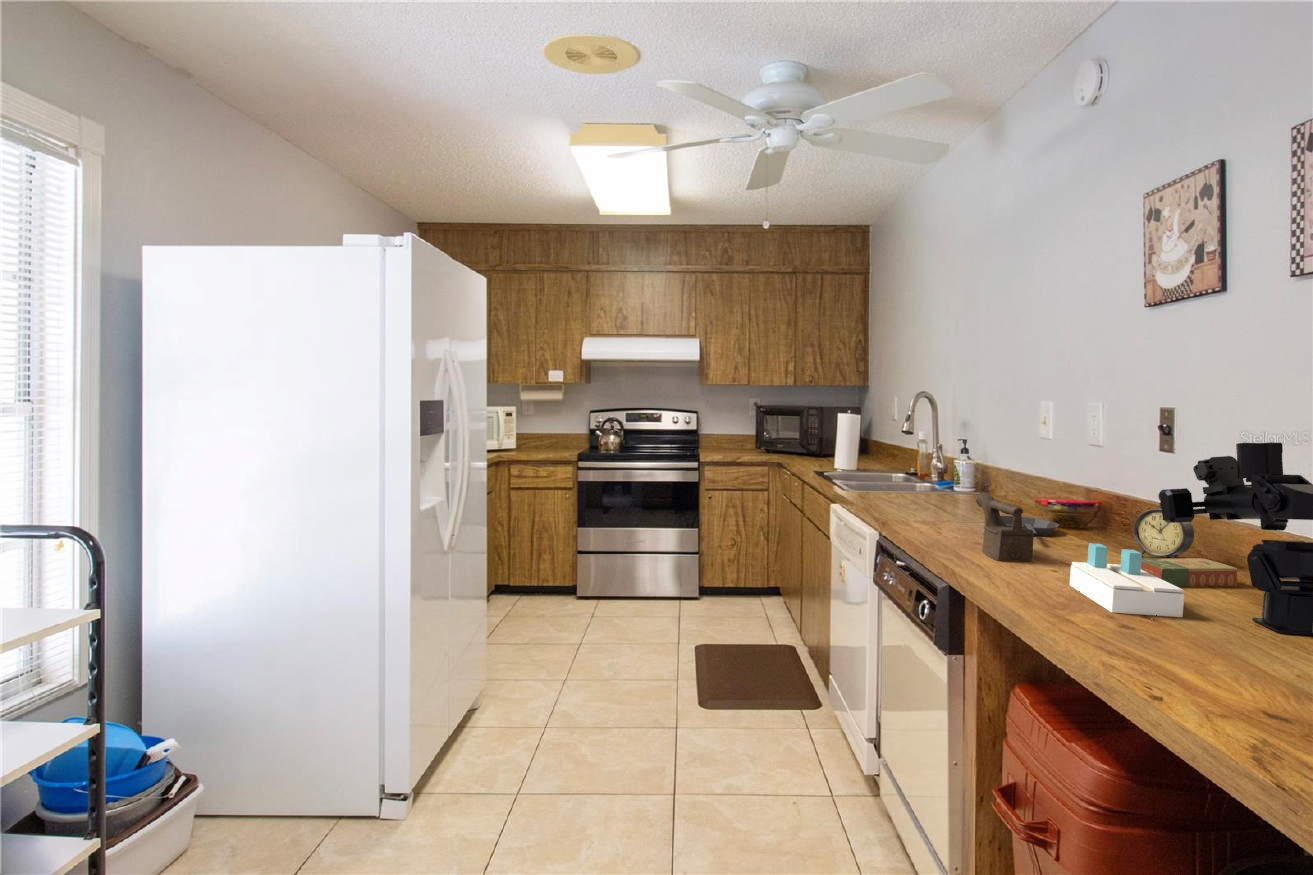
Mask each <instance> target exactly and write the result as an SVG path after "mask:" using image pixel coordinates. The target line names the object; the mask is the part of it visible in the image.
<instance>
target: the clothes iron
mask: <svg viewBox="0 0 1313 875" xmlns="http://www.w3.org/2000/svg"><path fill="white" fill-rule="evenodd" d="M975 503H976V504H977V506H978V507H979V508H982V510H983V513H984V527H983V528H984V530H983V541H982V550H981V552H982V554H984V555H985V556H986V557H988V558H990V559H992V560H994V561H998V562H1033V553H1034V552H1033V551H1034V533H1033V530H1030V529H1022V517H1023V513H1024V510H1023V509H1022V508H1021V507H1018V506H1013V505H1012V504H1010V503H1006V502H1002V501H1000V500H998V499H995V498H994V497H993V496H992V495H991V494H990V493H989V492H988V491H982V492H979V493H978V494H977V495H976V497H975ZM1000 512H1001V513H1002V514H1006V515H1008V516H1014V518H1013V524H1012V527H1009V526H1007V525H1006V524H1005V523H1004V522H1003V521H1002V519H1001V516H1002V515H1001V514H1000Z"/></svg>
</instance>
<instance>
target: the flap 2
mask: <svg viewBox="0 0 1313 875" xmlns="http://www.w3.org/2000/svg"><path fill="white" fill-rule="evenodd" d="M1120 554H1121V555H1120V564H1114V563H1106V567H1109V568H1111V569H1113V570H1115V571H1117V572H1119V573H1121V574H1123V575H1124V576H1126V577H1128V578H1130V579H1132V580H1134V581H1136V582H1138V583H1140V584H1142V585H1144V586H1146V587H1148V588H1149V589H1151V590H1153V591H1165V592H1181V593H1183V594H1184V589H1182V588H1180V586H1174V585H1172V584H1170V583H1168V582H1166V581H1164V580H1162V579H1160V578H1158V577H1156V576H1154V575H1152V574H1149V573H1147V572H1145V571H1143V570H1141V560H1142V559H1143V558H1142V557H1143V555H1142V553H1141V551H1137V550H1135V549H1128V548H1127V549H1124V548H1123V549H1122V548H1121V553H1120Z"/></svg>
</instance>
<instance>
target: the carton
mask: <svg viewBox="0 0 1313 875" xmlns="http://www.w3.org/2000/svg"><path fill="white" fill-rule="evenodd" d="M1141 570H1143V571H1145V572H1147V573H1149V574H1152V575H1154V576H1156V577H1158V578H1160V579H1162V580H1164V581H1166V582H1168V583H1170V584H1172V585H1174V586H1177V587H1188V586H1227V587H1228V586H1229V587H1230V586H1231V587H1230V588H1235V587H1236V588H1237V587H1238V586H1237V584H1238V568H1237V567H1234V566H1230V565H1228V564H1226V563H1223V562H1222V563H1221V562H1218V561H1214V560H1210V559H1208V558H1202V557H1201V558H1200V557H1196V558H1195V557H1193V558H1191V557H1187V558H1182V557H1181V558H1180V557H1179V558H1175V557H1170V558H1167V557H1157V558H1149V557H1148V558H1142V560H1141ZM1229 587H1228V588H1229Z"/></svg>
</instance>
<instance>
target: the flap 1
mask: <svg viewBox="0 0 1313 875" xmlns="http://www.w3.org/2000/svg"><path fill="white" fill-rule="evenodd" d="M1087 548H1088V550H1087V562H1084V561H1083V562H1080V561H1071V565H1074V566H1076V567H1077V568H1079V569H1081V570H1083V571H1084V572H1086V573H1088V574H1090V575H1091V576H1093V577H1095V578H1097V579H1098V580H1100V581H1102V582H1104V583H1105V584H1107V585H1109V586H1111V587H1112V588H1118V589H1133V590H1142V588H1143V587H1141V586H1139V585H1137V584H1136V583H1134V582H1132V581H1130V580H1128V579H1126V578H1124V577H1122V576H1120V575H1118V574H1116V573H1115V572H1113V571H1111V570H1109V569H1107V568H1106V567H1107V557H1108V546H1106V545H1104V544H1101V543H1092V542H1091V543H1088V547H1087Z"/></svg>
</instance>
